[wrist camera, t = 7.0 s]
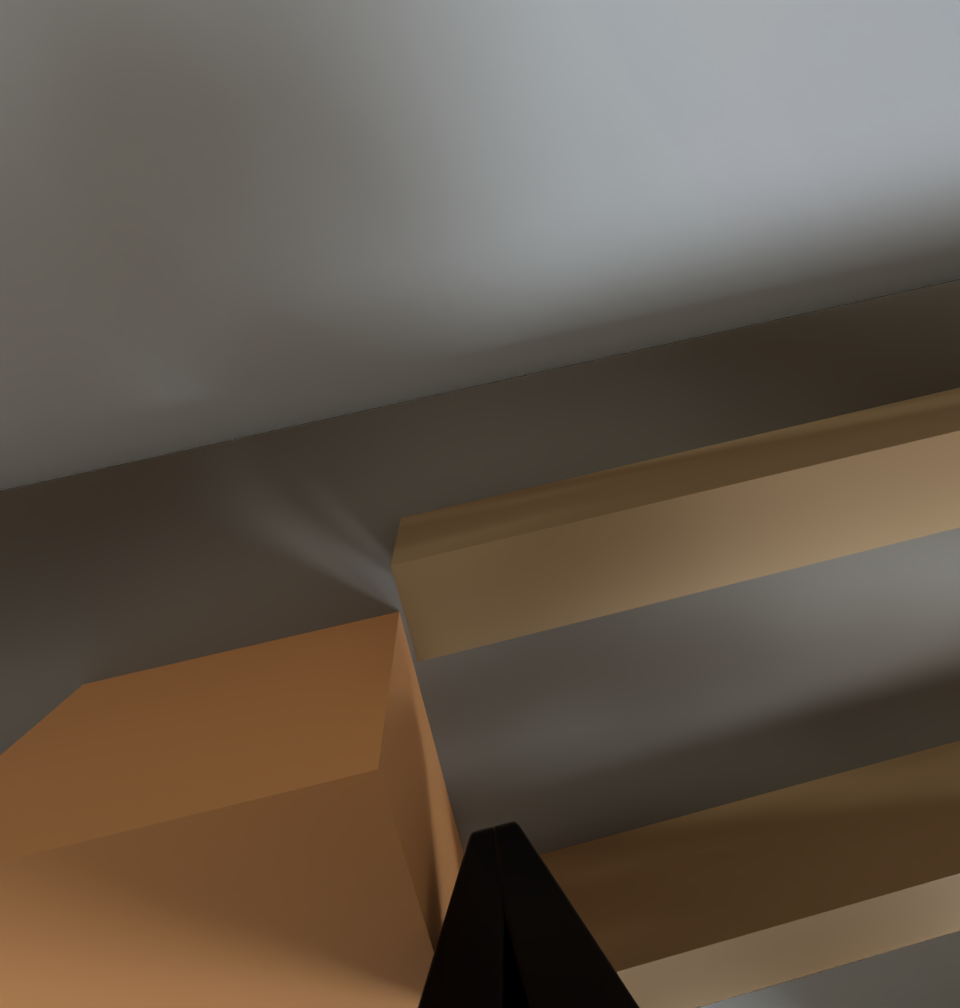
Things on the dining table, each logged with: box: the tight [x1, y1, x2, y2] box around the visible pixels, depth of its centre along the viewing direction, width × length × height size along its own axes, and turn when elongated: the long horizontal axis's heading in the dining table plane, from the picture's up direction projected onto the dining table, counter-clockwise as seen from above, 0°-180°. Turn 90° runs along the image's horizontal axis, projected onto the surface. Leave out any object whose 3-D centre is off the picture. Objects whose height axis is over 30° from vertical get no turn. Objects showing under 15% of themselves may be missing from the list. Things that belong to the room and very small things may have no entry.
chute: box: [0, 279, 960, 1008], centre depth 10 cm, size 14×33×3 cm, turn 102°
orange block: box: [0, 612, 463, 1008], centre depth 8 cm, size 6×6×4 cm
